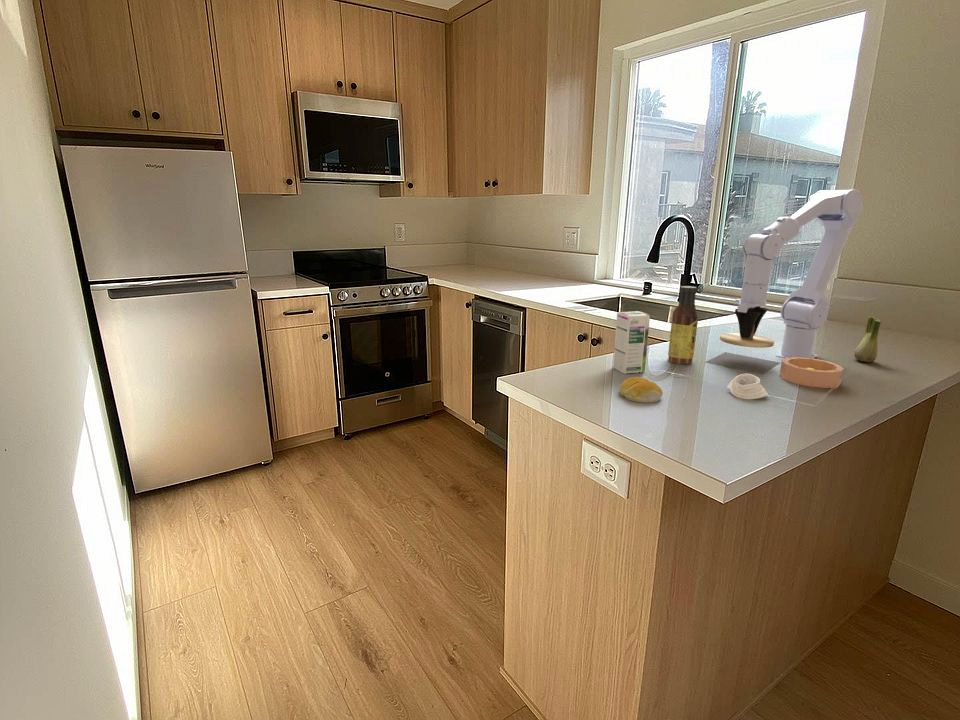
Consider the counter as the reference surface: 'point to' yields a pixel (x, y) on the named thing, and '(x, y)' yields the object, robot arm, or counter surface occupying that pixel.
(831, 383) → the ring
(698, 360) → the counter surface
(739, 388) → the whipped cream
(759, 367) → the mat
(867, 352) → the fennel bulb
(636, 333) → the syrup box
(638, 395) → the bread roll
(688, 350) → the sauce bottle
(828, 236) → the robot arm
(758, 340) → the lid
